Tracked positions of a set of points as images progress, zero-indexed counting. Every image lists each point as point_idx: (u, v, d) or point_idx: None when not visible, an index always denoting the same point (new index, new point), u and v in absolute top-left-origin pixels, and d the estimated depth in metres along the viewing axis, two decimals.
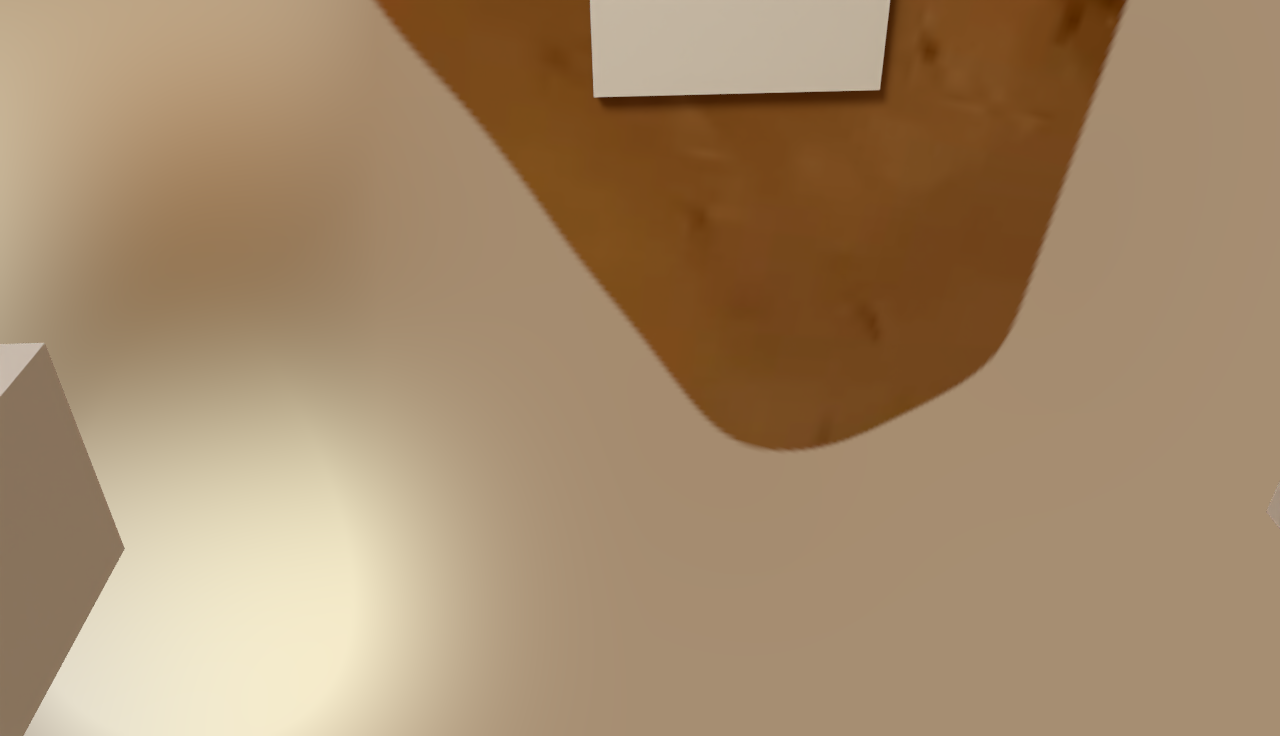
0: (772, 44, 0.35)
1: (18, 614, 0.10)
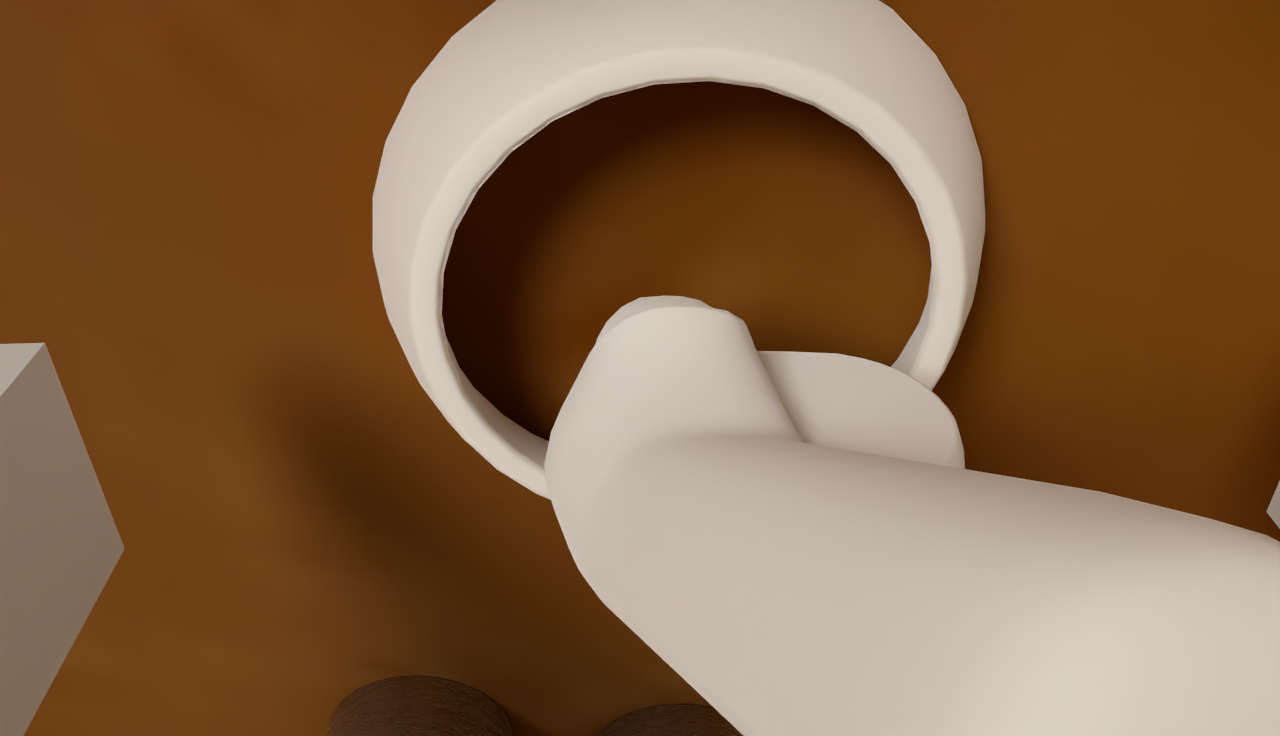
0: None
1: (18, 612, 0.10)
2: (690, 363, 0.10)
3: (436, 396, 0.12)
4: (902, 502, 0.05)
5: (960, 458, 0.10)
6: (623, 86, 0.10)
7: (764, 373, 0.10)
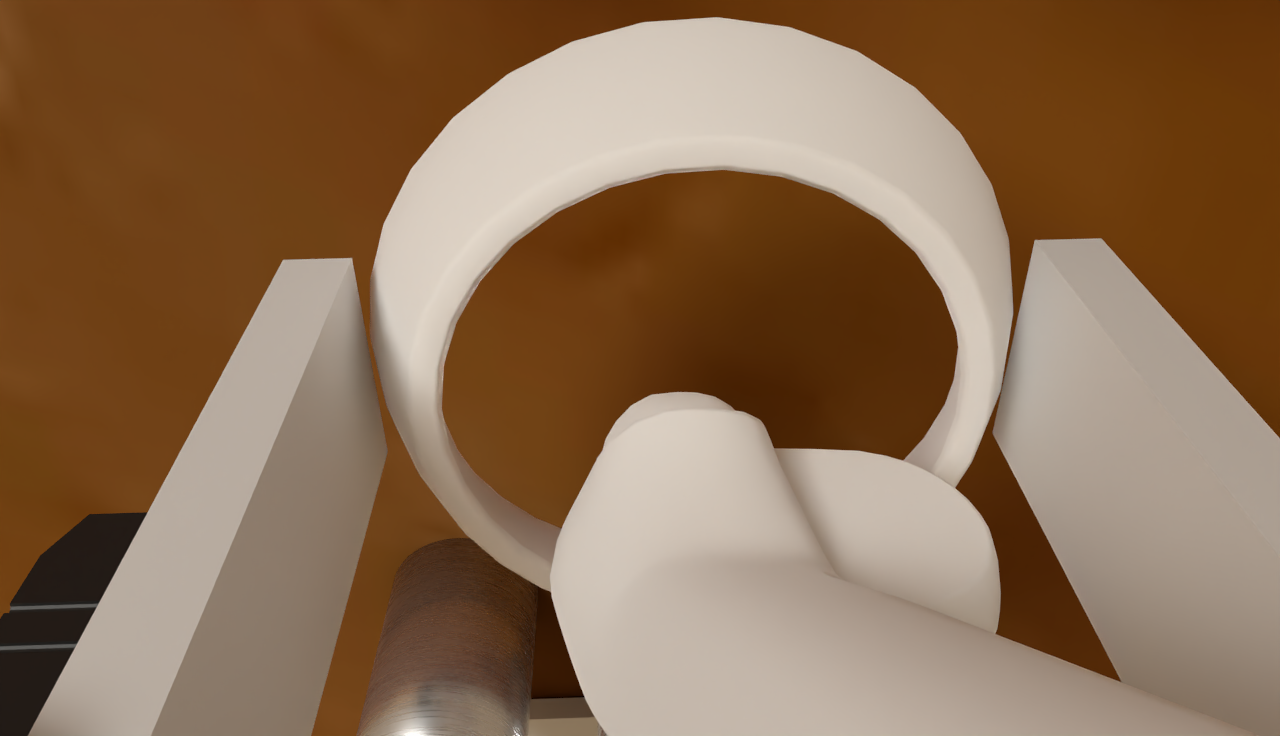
0: None
1: (345, 489, 0.11)
2: (705, 473, 0.09)
3: (435, 490, 0.12)
4: (962, 731, 0.04)
5: (995, 572, 0.10)
6: (633, 176, 0.10)
7: (784, 480, 0.10)
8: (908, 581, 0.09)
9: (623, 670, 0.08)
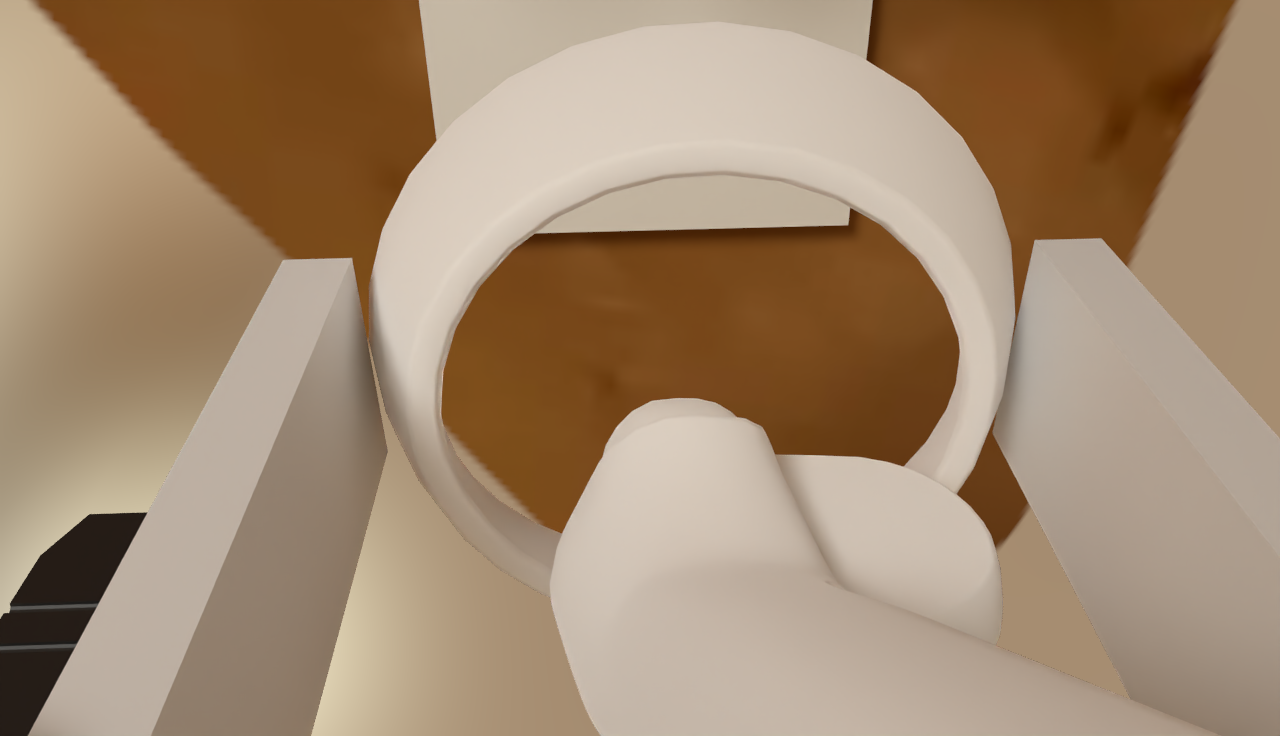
0: None
1: (345, 490, 0.11)
2: (706, 480, 0.09)
3: (435, 496, 0.12)
4: None
5: (997, 579, 0.09)
6: (633, 181, 0.10)
7: (785, 487, 0.10)
8: (910, 589, 0.09)
9: (623, 680, 0.08)
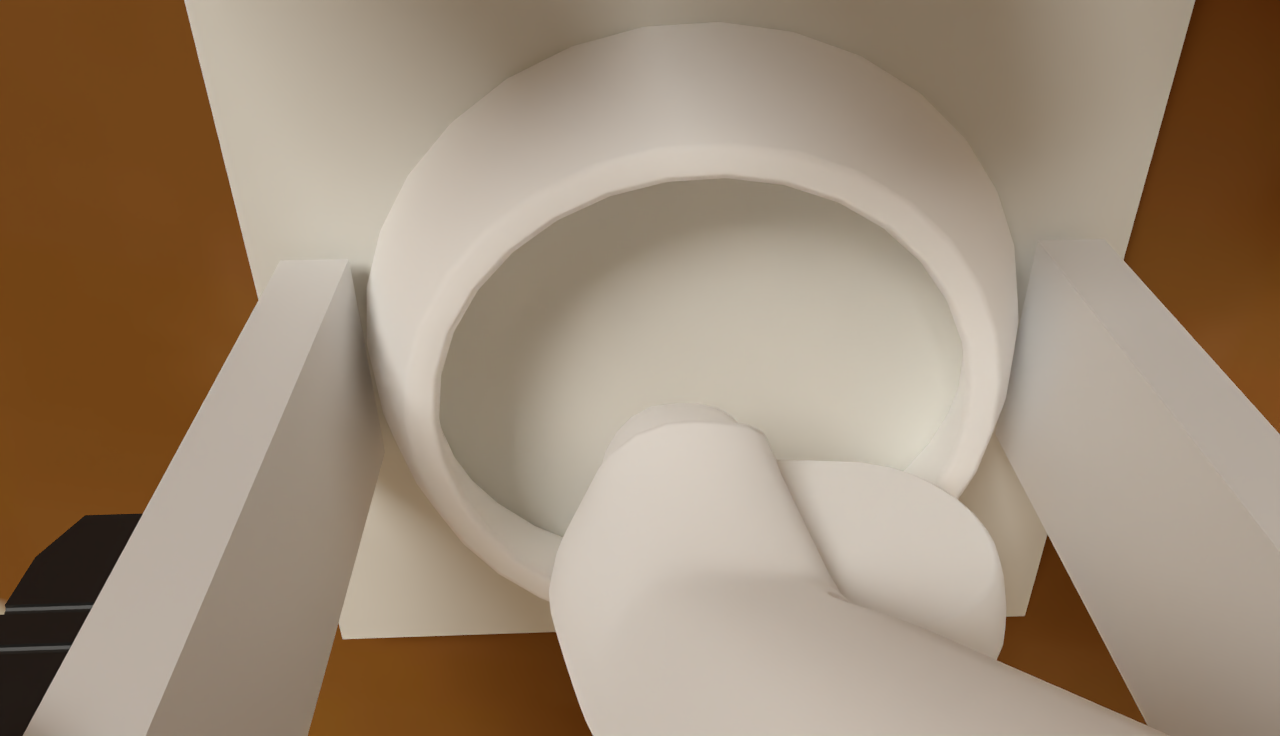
0: None
1: (341, 490, 0.11)
2: (707, 487, 0.09)
3: (433, 501, 0.12)
4: None
5: (1001, 587, 0.09)
6: (633, 184, 0.10)
7: (787, 494, 0.09)
8: (913, 598, 0.09)
9: (624, 692, 0.08)
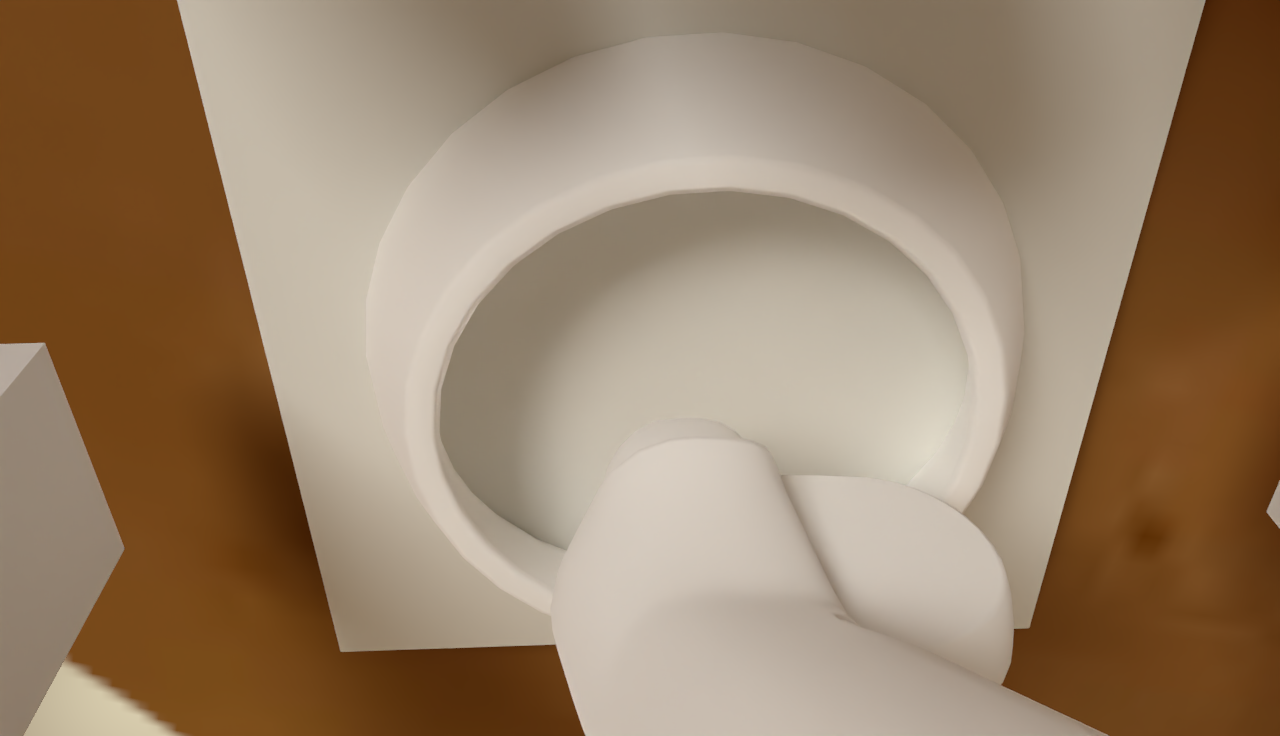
0: None
1: (19, 612, 0.10)
2: (711, 505, 0.09)
3: (433, 515, 0.12)
4: None
5: (1008, 606, 0.09)
6: (636, 198, 0.09)
7: (791, 511, 0.09)
8: (920, 617, 0.09)
9: (627, 716, 0.08)
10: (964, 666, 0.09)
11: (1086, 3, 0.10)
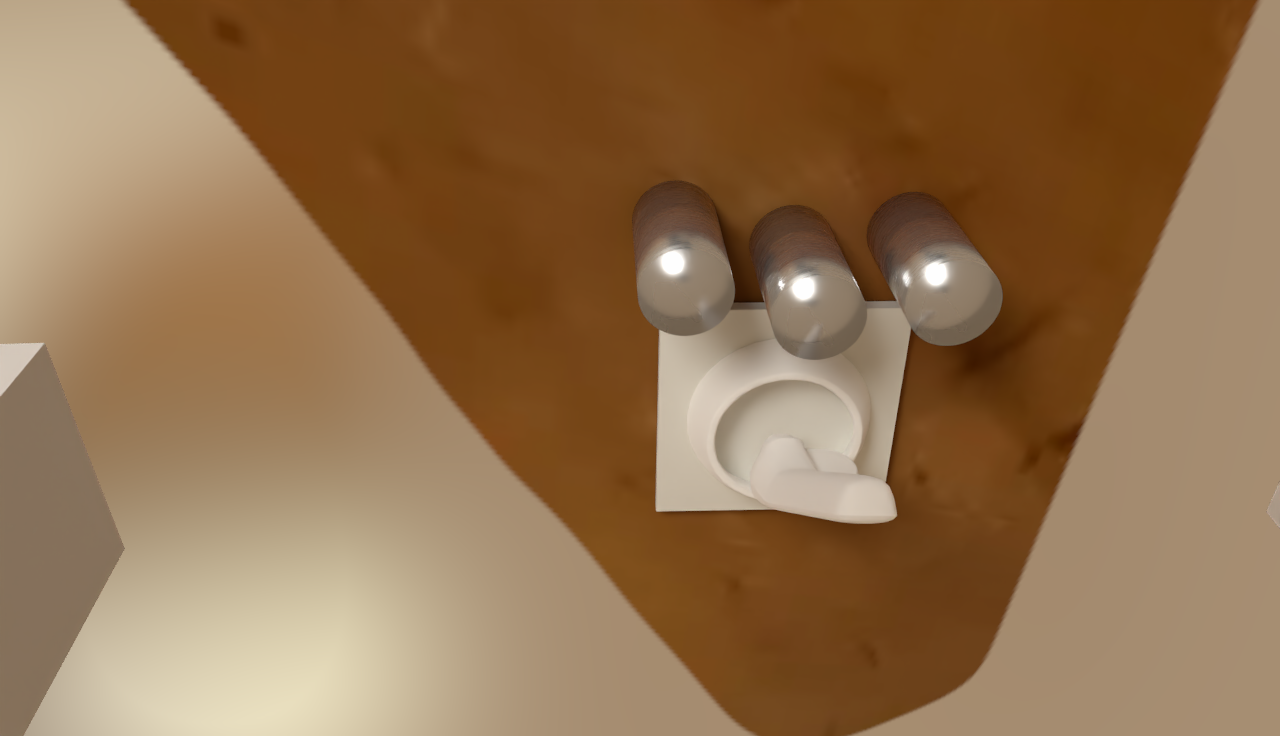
0: None
1: (19, 612, 0.10)
2: (790, 452, 0.40)
3: (709, 459, 0.42)
4: (835, 475, 0.35)
5: None
6: (772, 381, 0.41)
7: (807, 455, 0.40)
8: None
9: (776, 490, 0.39)
10: None
11: (881, 332, 0.42)
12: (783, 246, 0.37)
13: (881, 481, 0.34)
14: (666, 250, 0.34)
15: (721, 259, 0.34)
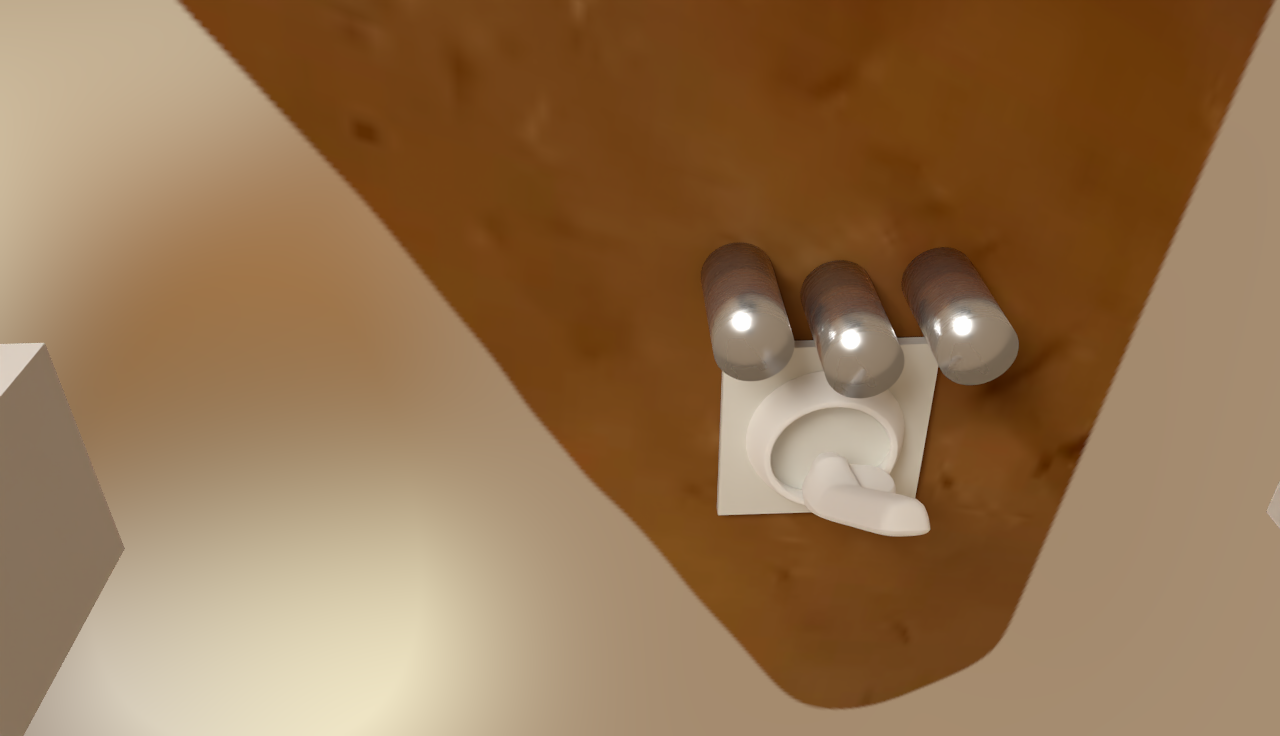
0: None
1: (19, 612, 0.10)
2: (836, 469, 0.47)
3: (766, 473, 0.50)
4: (878, 496, 0.42)
5: (894, 489, 0.47)
6: (820, 408, 0.47)
7: (852, 471, 0.47)
8: (876, 490, 0.47)
9: (826, 503, 0.46)
10: None
11: (913, 363, 0.48)
12: (832, 301, 0.43)
13: (917, 501, 0.41)
14: (738, 313, 0.40)
15: (783, 319, 0.41)
